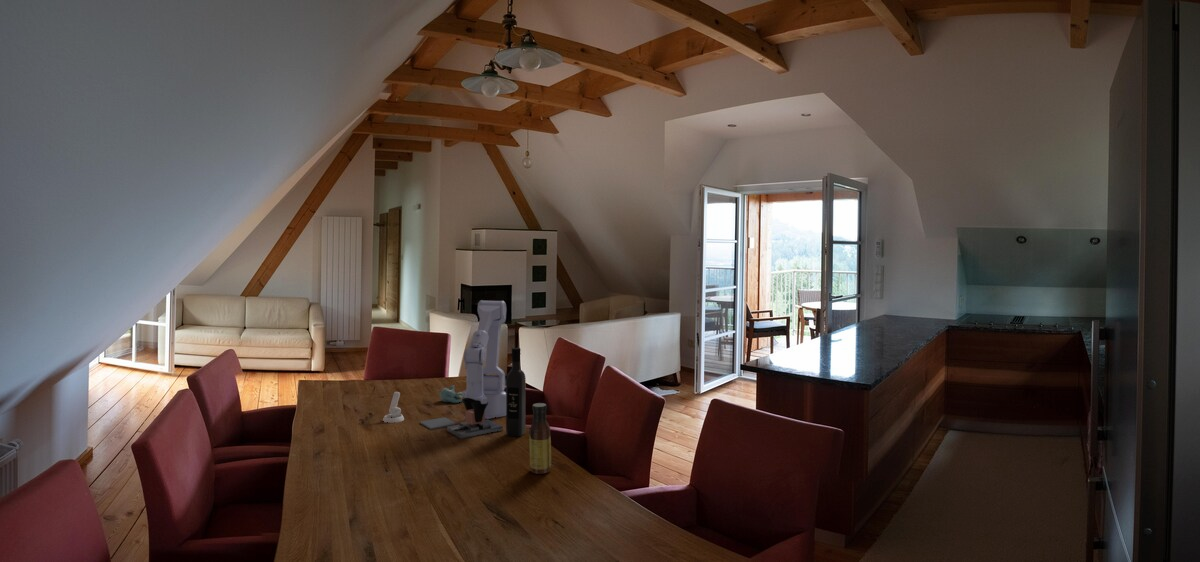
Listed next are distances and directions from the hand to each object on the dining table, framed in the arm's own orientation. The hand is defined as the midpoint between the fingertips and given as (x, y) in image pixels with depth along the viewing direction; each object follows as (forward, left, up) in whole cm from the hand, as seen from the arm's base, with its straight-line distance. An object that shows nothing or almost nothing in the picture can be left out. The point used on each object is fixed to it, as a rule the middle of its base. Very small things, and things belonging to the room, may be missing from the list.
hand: (474, 419), depth 226 cm
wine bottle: (-9, +12, -4) cm, 16 cm away
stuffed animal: (-12, -43, -4) cm, 45 cm away
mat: (+7, -15, -4) cm, 17 cm away
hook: (+18, -30, -4) cm, 35 cm away
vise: (0, 0, -4) cm, 4 cm away
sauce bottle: (+3, +47, -4) cm, 47 cm away
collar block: (0, 0, -1) cm, 1 cm away
